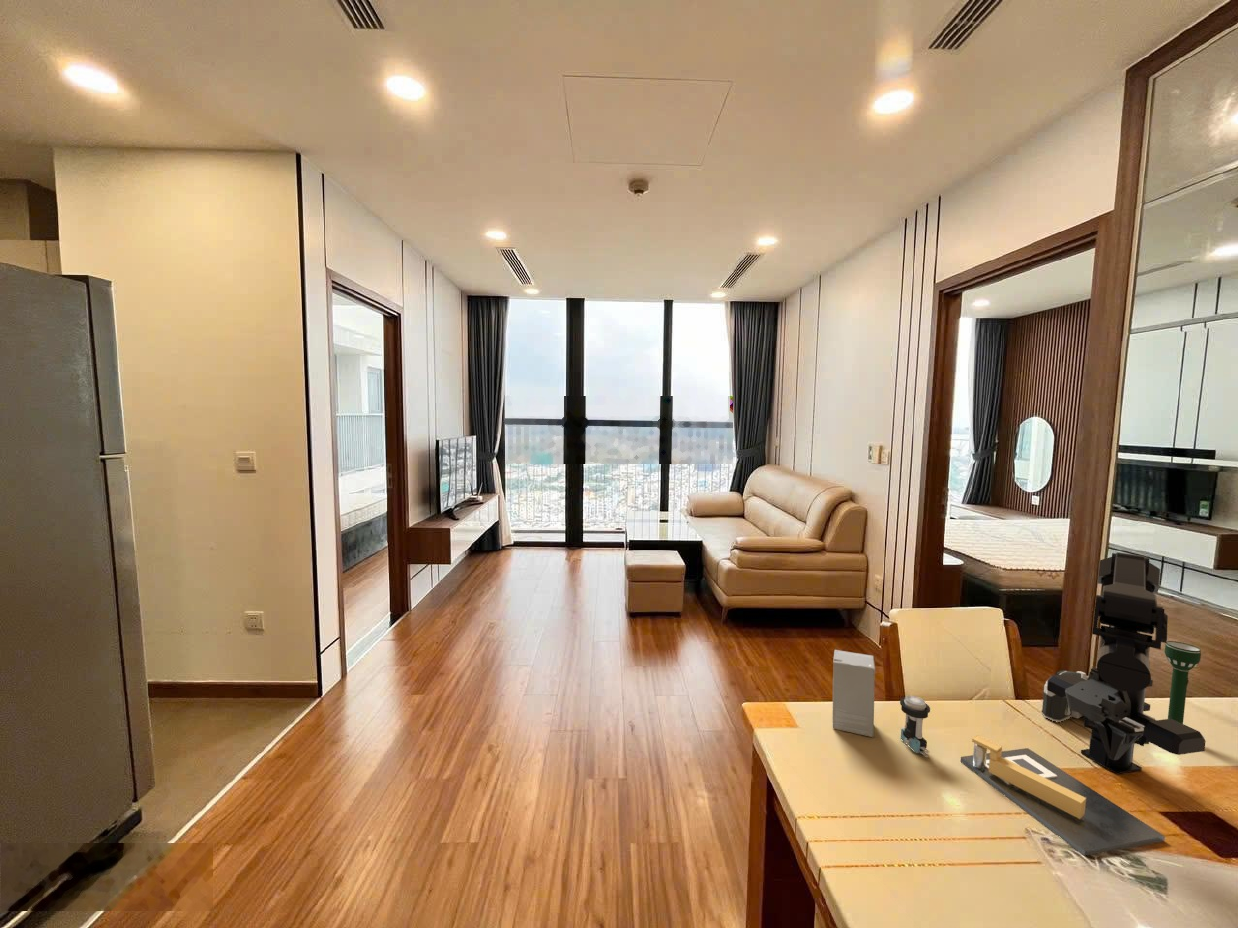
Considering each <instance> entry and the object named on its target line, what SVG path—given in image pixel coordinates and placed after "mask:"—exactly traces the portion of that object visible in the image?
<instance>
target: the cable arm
mask: <svg viewBox="0 0 1238 928" xmlns="http://www.w3.org/2000/svg"><path fill="white" fill-rule="evenodd" d="M971 742H972V743H973V744H974V743H976V744H978V745H980V746H982V747H984V748H986V749H987V751H989V753H990V760H989V772H990V773H992V774H994V775H996V776H998V777H1000V778H1002V779H1003V780H1005V781H1007V782H1009V783H1011V784H1013V785H1015V786H1017V787H1019V788H1021V789H1023V790H1025V791H1027V792H1029V793H1030V794H1032V795H1034V796H1036V797H1038V798H1040V799H1042V800H1044V801H1046V802H1048V803H1050V804H1052V805H1054V806H1056V807H1057V808H1059V809H1061V810H1063V811H1065V812H1067V813H1069V814H1071V815H1073V816H1075V817H1077V818H1079V819H1081V817H1082V816H1083V815H1084V814H1085V805H1086V798H1085V797H1083V796H1081V795H1079V794H1077V793H1075V792H1073V791H1071V790H1069V789H1067V788H1065V787H1062V786H1060V785H1058V784H1056V783H1054V782H1052V781H1050V780H1048V779H1046V778H1044V777H1042V776H1040V775H1038V774H1036V773H1034V772H1032V771H1030V770H1028V769H1025V768H1023V767H1021V766H1019V765H1017V764H1015V763H1013V762H1011V761H1009V760H1007V759H1005V758H1003V757H1001V754H1002V751H1003V746H1001V745H1000V744H998V743H996V742H993V741H991V740H989V739H987V738H985V737H983V736H980V735H976V736H974V737H972V738H971Z"/></svg>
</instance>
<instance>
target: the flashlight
mask: <svg viewBox="0 0 1238 928" xmlns="http://www.w3.org/2000/svg"><path fill="white" fill-rule="evenodd" d="M1164 644H1165V645H1164V654H1165V657H1166V659H1167V661H1168V663H1169V664H1171V665H1170V666H1172V673H1171V683H1170V695H1169V703H1168V713H1167V719H1173V720H1175V721H1177V722H1180V723H1182V724H1184V719H1185V718H1184V717H1185V716H1184V715H1185V707H1186V697H1187V691H1188V689H1187V688H1188V684H1189V682H1190V681H1189V671H1191V670H1192V669H1194V668H1196V667H1197V666H1198V664H1200V662H1201V658H1202V650H1201V648H1199V647H1198V646H1195V645H1193V644H1189V643H1185V642H1181V641H1176V640H1175V641H1173V640H1167V641H1166V643H1164Z"/></svg>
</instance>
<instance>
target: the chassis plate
mask: <svg viewBox="0 0 1238 928" xmlns="http://www.w3.org/2000/svg"><path fill="white" fill-rule="evenodd" d="M1019 755H1027V756H1028V757H1030V758H1031V759H1033V760H1034V761H1036V762H1037V763H1039V764H1040V765H1042V766H1043V767H1045V768H1046V769H1048V770H1050V771H1051V772H1053V773H1054V774H1056V775H1057V777H1055V778H1049V779H1048V780H1050V781H1052V782H1054V783H1056V784H1058V785H1060V786H1062V787H1065V788H1067V789H1069V790H1071V791H1073V792H1075V793H1077V794H1079V795H1081V796H1083V797H1085V798H1086V805H1085V814H1084V815H1083V816H1082V817H1081V819H1079V818H1077V817H1075V816H1073V815H1071V814H1069V813H1067V812H1065V811H1063V810H1061V809H1059V808H1057V807H1056V806H1054V805H1052V804H1050V803H1048V802H1046V801H1044V800H1042V799H1040V798H1038V797H1036V796H1034V795H1032V794H1030V793H1029V792H1027V791H1025V790H1023V789H1021V788H1019V787H1017V786H1015V785H1013V784H1007V783H1006V782H1004V781H1003V780H1002V779H1000V778H999V777H998V776H996V775H994V774H992V773H990V772H989V770H988V769H987V768H985V770H979V769H977V768H975V767H974V766H973V754H972V755H964V756H961V757H960V762H961V763H962V764H963V765H964V766H966V767H967V768H968V769H970V770H971V771H973V772H974V773H975V774H976V775H977V776H978V777H980V778H981V779H982V780H984V781H985V782H986V783H988V784H989V785H990V786H992V787H993V788H994V789H995V790H997V791H998V792H999V793H1001V794H1002V795H1003V796H1004V797H1006V798H1008V799H1009V800H1010V801H1011V802H1012V803H1014V804H1015V805H1016V806H1017V807H1019V808H1020V809H1022V810H1023V811H1025V812H1026V813H1027V814H1028V815H1029V816H1030V817H1032V818H1034V819H1035V820H1036V821H1037V822H1039V823H1040V824H1041V825H1042V826H1044V827H1045V828H1047V829H1048V831H1049V830H1050V832H1052V833H1053V834H1054V835H1056V836H1057V835H1058V836H1057V837H1059V836H1060V837H1061V838H1062V839H1064V840H1065V841H1066V842H1068V843H1069V844H1070V845H1071V846H1070V845H1069V844H1068V843H1067V844H1068V845H1069V846H1070V847H1072V846H1073V847H1074V848H1075V849H1074V848H1073V847H1072V848H1073V849H1074V850H1076V851H1077V852H1078V851H1079V854H1081V855H1082V856H1084V857H1086V855H1087V856H1092V855H1098V854H1103V853H1102V852H1104V853H1107V852H1113V851H1114V852H1115V851H1120V850H1125V849H1131V848H1134V847H1135V848H1136V847H1141V846H1146V845H1152V844H1153V845H1154V844H1158V843H1163V842H1165V840H1166V839H1165V838H1166V836H1165V835H1164V834H1163V833H1161V832H1159V831H1157V830H1156V829H1155V828H1153V827H1151V826H1150V825H1149V824H1147V823H1146V822H1143V820H1141V819H1139V818H1137V817H1136V816H1134V815H1133V814H1132V813H1130V812H1129V811H1126V810H1125V809H1124V808H1122V807H1121V806H1119V805H1118V804H1116V803H1115V802H1113V801H1111V800H1110V799H1108V798H1106V797H1105V796H1103V794H1100V793H1099V792H1097V791H1096V790H1094V789H1092V788H1091V787H1090V786H1088V785H1086V784H1084V783H1083V782H1082V781H1080V780H1078V779H1077V778H1075V777H1073V776H1072V775H1071V774H1069V773H1067V772H1066V771H1064V770H1063V769H1061V768H1060V767H1058V765H1055V764H1053V763H1052V762H1050V761H1049V760H1047V759H1045V758H1044V757H1042V756H1041V755H1039V754H1038V753H1036V752H1035V751H1033V750H1031V749H1030V748H1029V747H1027V748H1026V747H1025V748H1017V749H1011V750H1009V749H1008V750H1004V751H1003V750H1002V754H1001V757H1003V758H1005V757H1012V756H1019ZM986 760H990V752H989V753H988V752H987V754H986ZM1060 837H1059V838H1060ZM1061 838H1060V839H1061ZM1062 839H1061V840H1062ZM1064 840H1063V841H1064ZM1065 841H1064V842H1065ZM1066 842H1065V843H1066ZM1091 854H1092V855H1091Z"/></svg>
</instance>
